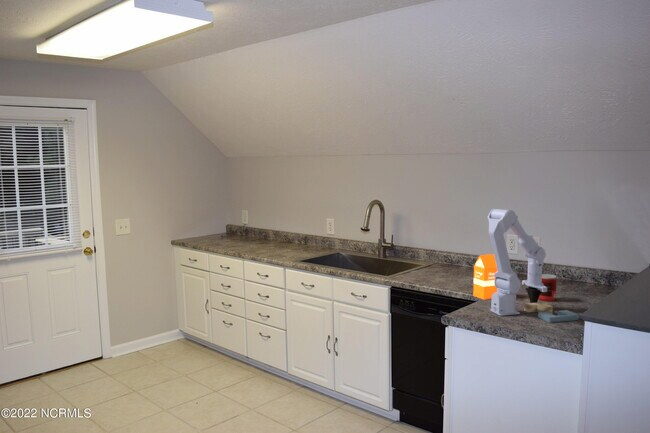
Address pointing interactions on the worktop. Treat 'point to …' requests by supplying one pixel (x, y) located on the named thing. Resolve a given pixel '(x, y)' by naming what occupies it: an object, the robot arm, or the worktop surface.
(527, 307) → the t block
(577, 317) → the dock
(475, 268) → the orange juice
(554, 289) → the canned food
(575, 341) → the worktop surface
